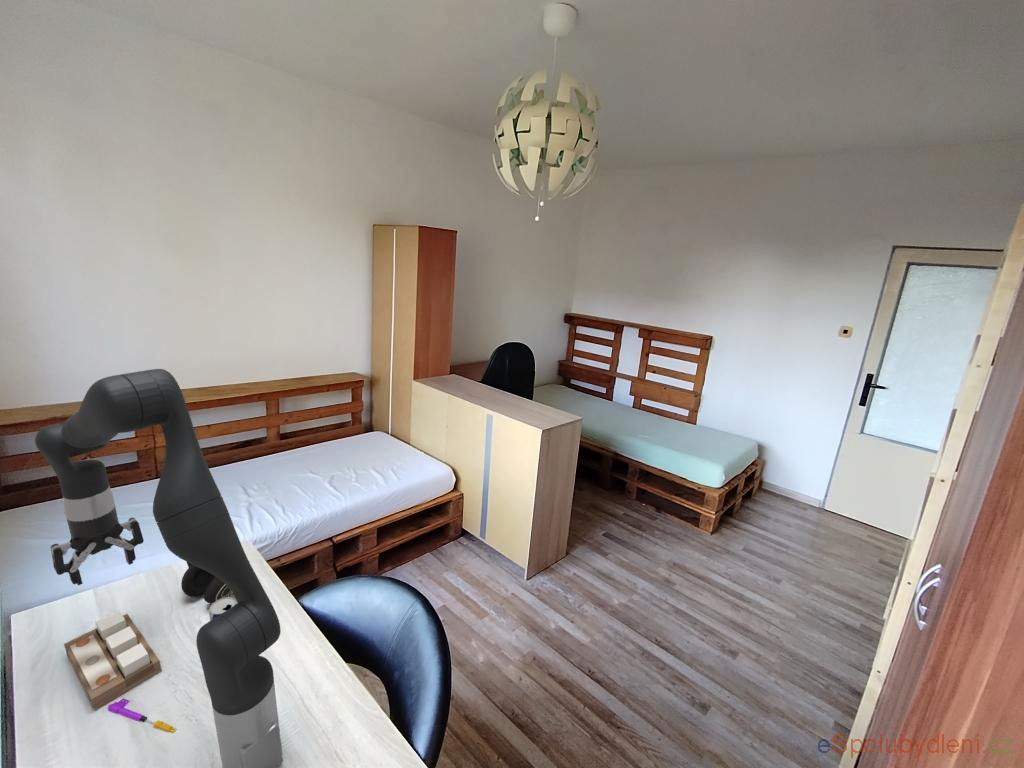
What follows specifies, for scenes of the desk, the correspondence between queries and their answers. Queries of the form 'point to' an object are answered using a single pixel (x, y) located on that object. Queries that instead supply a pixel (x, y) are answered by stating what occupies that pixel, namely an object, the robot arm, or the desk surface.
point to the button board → (106, 666)
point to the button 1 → (110, 625)
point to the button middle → (121, 641)
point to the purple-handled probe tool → (137, 715)
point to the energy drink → (221, 606)
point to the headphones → (203, 584)
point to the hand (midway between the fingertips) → (105, 572)
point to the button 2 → (133, 660)
